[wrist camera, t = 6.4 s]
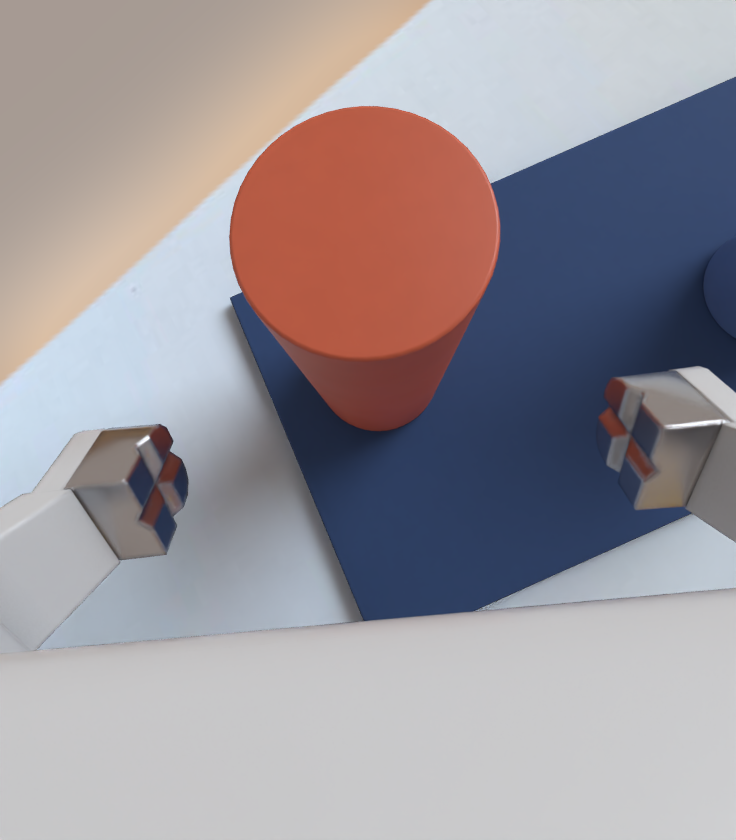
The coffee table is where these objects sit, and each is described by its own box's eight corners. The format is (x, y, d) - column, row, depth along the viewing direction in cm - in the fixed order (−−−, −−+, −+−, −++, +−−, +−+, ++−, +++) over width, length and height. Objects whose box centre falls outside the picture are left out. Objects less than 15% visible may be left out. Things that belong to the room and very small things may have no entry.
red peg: (346, 451, 17) (289, 406, 7) (300, 343, 18) (189, 167, 8) (458, 401, 17) (549, 291, 7) (408, 295, 18) (430, 63, 8)
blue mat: (377, 649, 17) (377, 654, 16) (233, 302, 19) (229, 297, 18) (942, 396, 17) (958, 394, 17) (742, 79, 19) (751, 69, 18)
